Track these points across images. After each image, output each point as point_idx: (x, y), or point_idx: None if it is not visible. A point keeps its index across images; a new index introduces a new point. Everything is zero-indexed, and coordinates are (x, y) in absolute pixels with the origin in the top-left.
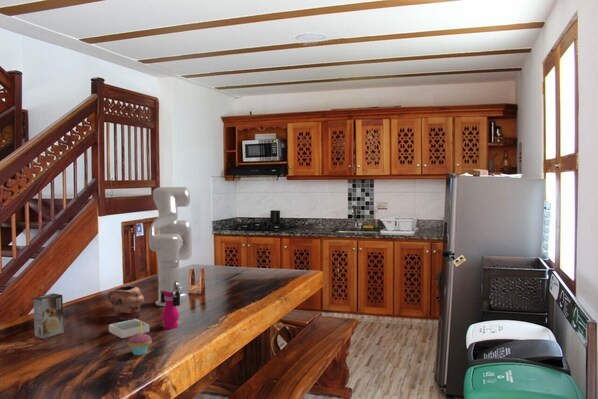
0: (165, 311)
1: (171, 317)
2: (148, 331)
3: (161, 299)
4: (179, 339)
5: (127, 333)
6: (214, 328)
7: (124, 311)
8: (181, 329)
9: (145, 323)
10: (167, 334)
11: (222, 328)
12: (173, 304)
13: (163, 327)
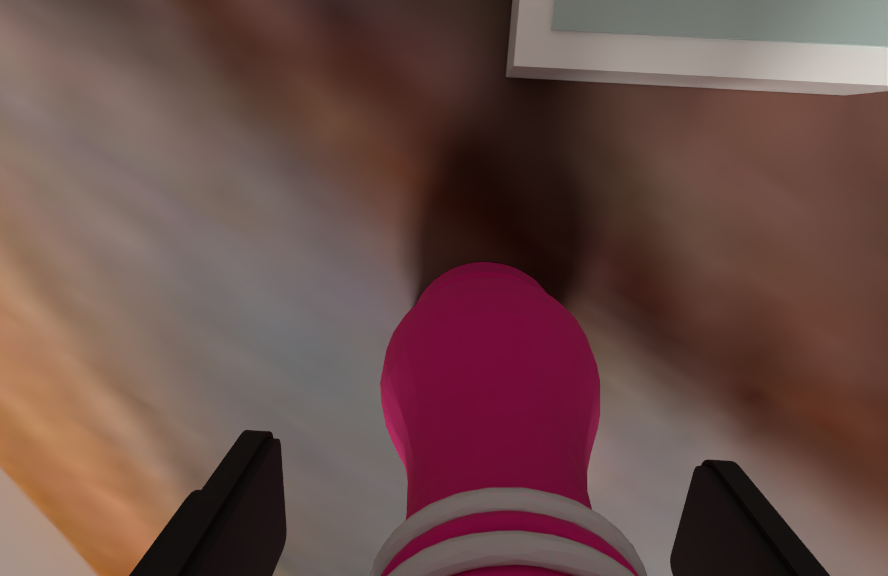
0: (479, 345)
1: (390, 344)
2: (507, 63)
3: (747, 506)
4: (54, 152)
5: None
6: (166, 524)
7: None
8: (330, 347)
9: (607, 59)
10: (280, 163)
11: (127, 556)
12: (229, 453)
13: (509, 266)
